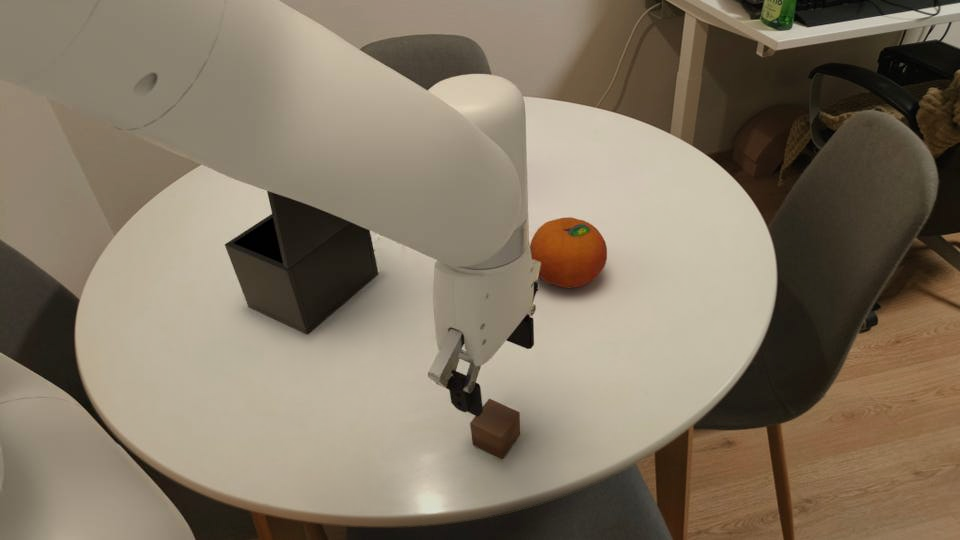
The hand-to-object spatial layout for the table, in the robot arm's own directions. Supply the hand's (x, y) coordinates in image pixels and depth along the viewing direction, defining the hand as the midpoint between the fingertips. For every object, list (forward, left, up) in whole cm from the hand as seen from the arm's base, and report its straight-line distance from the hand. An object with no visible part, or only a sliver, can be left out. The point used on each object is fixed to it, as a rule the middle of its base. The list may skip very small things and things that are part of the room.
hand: (494, 374), depth 62 cm
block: (0, 0, -10) cm, 10 cm away
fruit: (+29, +6, -10) cm, 31 cm away
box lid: (+9, +30, +7) cm, 32 cm away
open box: (+9, +36, -10) cm, 38 cm away
